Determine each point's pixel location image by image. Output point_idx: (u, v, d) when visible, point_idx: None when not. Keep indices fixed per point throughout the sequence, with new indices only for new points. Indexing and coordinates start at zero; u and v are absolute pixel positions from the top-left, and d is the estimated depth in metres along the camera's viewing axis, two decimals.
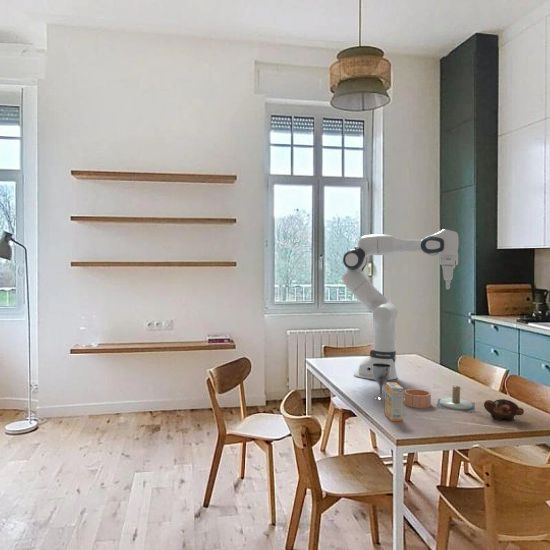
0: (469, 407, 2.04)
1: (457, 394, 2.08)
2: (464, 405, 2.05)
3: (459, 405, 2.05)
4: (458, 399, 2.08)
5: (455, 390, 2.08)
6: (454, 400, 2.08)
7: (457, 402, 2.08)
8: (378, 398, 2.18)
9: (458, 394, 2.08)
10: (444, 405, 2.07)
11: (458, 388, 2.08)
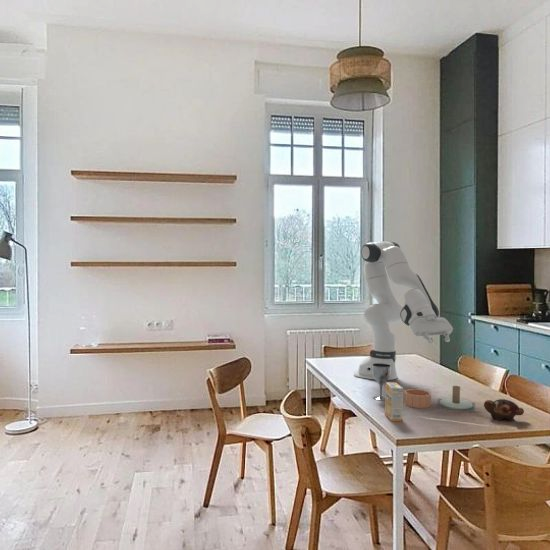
0: (469, 407, 2.04)
1: (457, 394, 2.08)
2: (464, 405, 2.05)
3: (459, 405, 2.05)
4: (458, 399, 2.08)
5: (455, 390, 2.08)
6: (454, 400, 2.08)
7: (457, 402, 2.08)
8: (378, 398, 2.18)
9: (458, 394, 2.08)
10: (444, 405, 2.07)
11: (458, 388, 2.08)
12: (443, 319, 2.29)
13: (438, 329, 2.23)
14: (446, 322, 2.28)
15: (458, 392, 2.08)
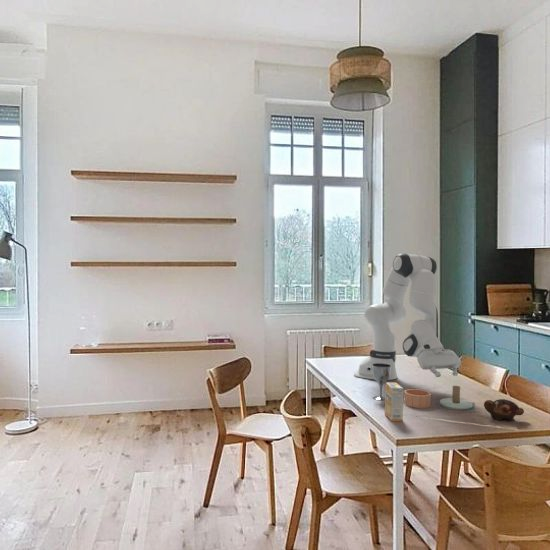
0: (469, 407, 2.04)
1: (457, 394, 2.08)
2: (464, 405, 2.05)
3: (459, 405, 2.05)
4: (458, 399, 2.08)
5: (455, 390, 2.08)
6: (454, 400, 2.08)
7: (457, 402, 2.08)
8: (378, 398, 2.18)
9: (458, 394, 2.08)
10: (444, 405, 2.07)
11: (458, 388, 2.08)
12: (451, 352, 2.23)
13: (446, 363, 2.17)
14: (454, 355, 2.22)
15: (458, 392, 2.08)
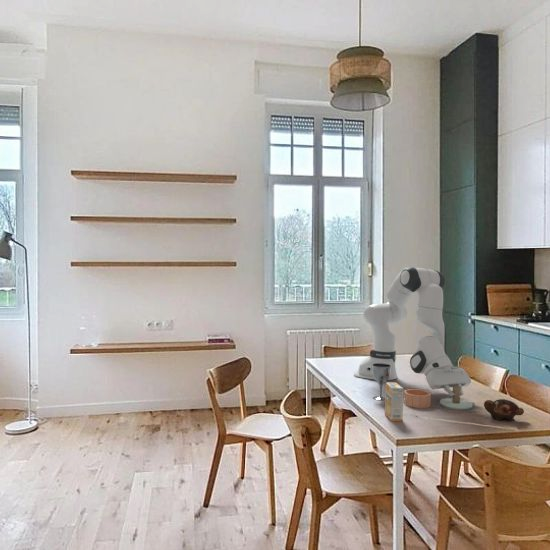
0: (469, 407, 2.04)
1: (457, 394, 2.08)
2: (464, 405, 2.05)
3: (459, 405, 2.05)
4: (458, 399, 2.08)
5: (455, 390, 2.08)
6: (454, 400, 2.08)
7: (457, 402, 2.08)
8: (378, 398, 2.18)
9: (458, 394, 2.08)
10: (444, 405, 2.07)
11: (458, 388, 2.08)
12: (460, 370, 2.17)
13: (455, 381, 2.11)
14: (464, 372, 2.16)
15: (458, 392, 2.08)
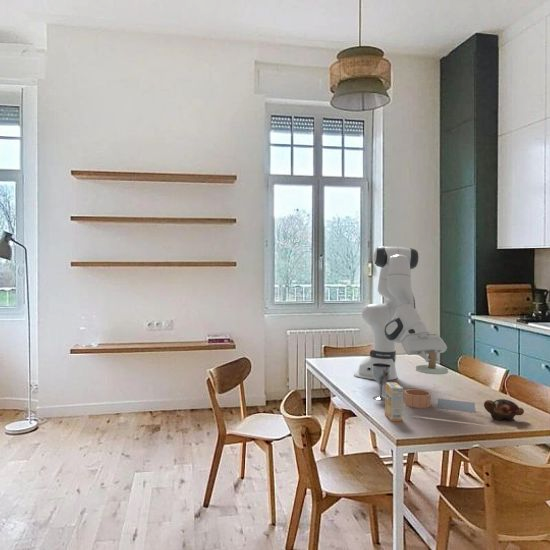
0: (445, 372, 2.04)
1: (433, 360, 2.07)
2: (440, 370, 2.05)
3: (435, 370, 2.04)
4: (434, 364, 2.07)
5: (431, 355, 2.07)
6: (430, 366, 2.08)
7: (433, 367, 2.07)
8: (378, 398, 2.18)
9: (434, 359, 2.07)
10: (420, 370, 2.06)
11: (434, 353, 2.07)
12: (436, 336, 2.17)
13: (431, 347, 2.11)
14: (440, 339, 2.16)
15: (434, 357, 2.07)
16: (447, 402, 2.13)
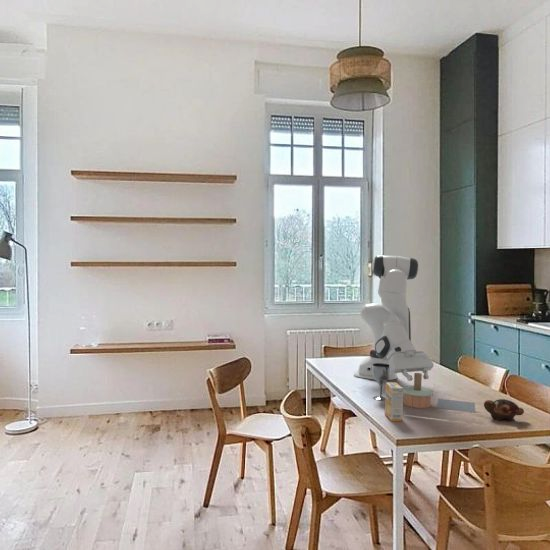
0: (430, 394, 2.05)
1: (418, 382, 2.09)
2: (425, 392, 2.06)
3: (420, 392, 2.06)
4: (419, 386, 2.09)
5: (416, 377, 2.09)
6: (415, 387, 2.09)
7: (418, 389, 2.09)
8: (378, 398, 2.18)
9: (419, 381, 2.09)
10: (405, 392, 2.07)
11: (419, 375, 2.09)
12: (423, 354, 2.18)
13: (417, 365, 2.12)
14: (426, 357, 2.17)
15: (419, 379, 2.09)
16: (447, 402, 2.13)
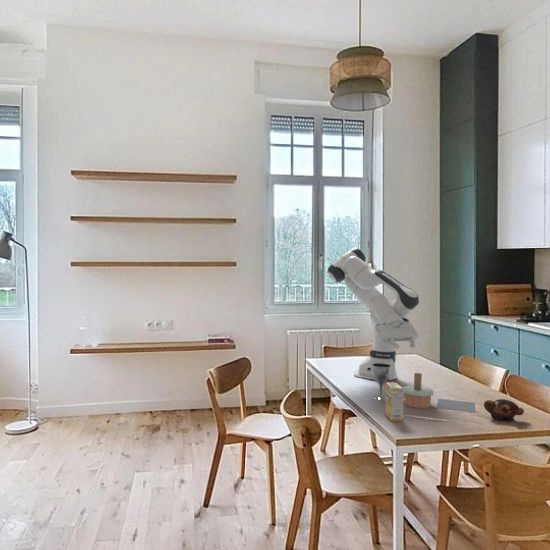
0: (430, 394, 2.05)
1: (418, 382, 2.09)
2: (425, 392, 2.06)
3: (420, 392, 2.06)
4: (419, 386, 2.09)
5: (416, 377, 2.09)
6: (415, 387, 2.09)
7: (418, 389, 2.09)
8: (378, 398, 2.18)
9: (419, 381, 2.09)
10: (405, 392, 2.07)
11: (419, 375, 2.09)
12: None
13: None
14: None
15: (419, 379, 2.09)
16: (447, 402, 2.13)
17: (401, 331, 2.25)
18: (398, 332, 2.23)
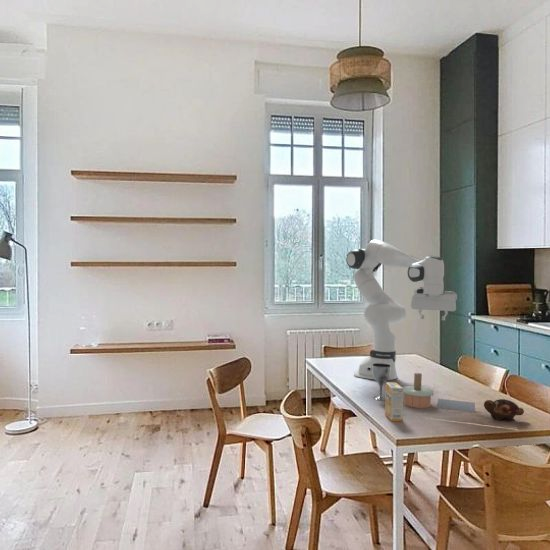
0: (430, 394, 2.05)
1: (418, 382, 2.09)
2: (425, 392, 2.06)
3: (420, 392, 2.06)
4: (419, 386, 2.09)
5: (416, 377, 2.09)
6: (415, 387, 2.09)
7: (418, 389, 2.09)
8: (378, 398, 2.18)
9: (419, 381, 2.09)
10: (405, 392, 2.07)
11: (419, 375, 2.09)
12: (449, 297, 2.28)
13: (435, 308, 2.30)
14: (451, 301, 2.27)
15: (419, 379, 2.09)
16: (447, 402, 2.13)
17: None
18: None
